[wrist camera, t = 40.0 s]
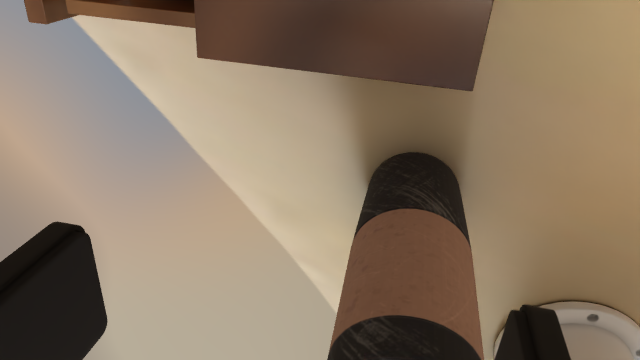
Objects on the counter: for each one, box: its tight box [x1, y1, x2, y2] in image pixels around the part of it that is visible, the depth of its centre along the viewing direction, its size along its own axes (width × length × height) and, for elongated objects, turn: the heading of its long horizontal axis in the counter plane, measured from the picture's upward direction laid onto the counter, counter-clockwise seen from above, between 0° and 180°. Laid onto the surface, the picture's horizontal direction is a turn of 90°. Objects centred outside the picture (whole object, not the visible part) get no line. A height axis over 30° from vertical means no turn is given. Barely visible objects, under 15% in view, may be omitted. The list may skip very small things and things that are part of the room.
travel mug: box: [328, 153, 484, 360], centre depth 30 cm, size 8×8×20 cm
